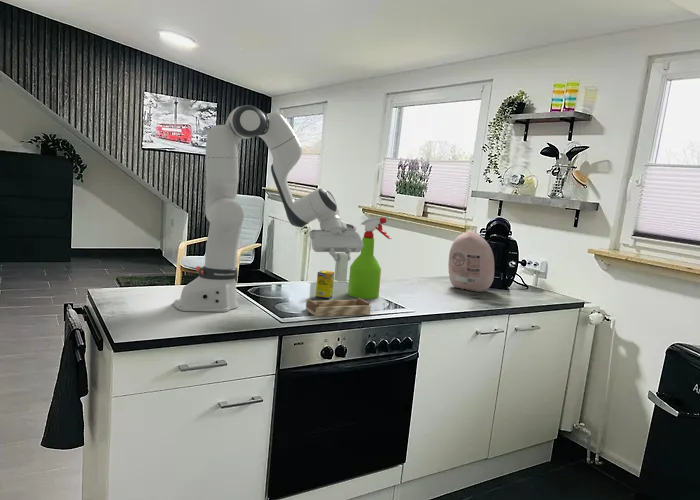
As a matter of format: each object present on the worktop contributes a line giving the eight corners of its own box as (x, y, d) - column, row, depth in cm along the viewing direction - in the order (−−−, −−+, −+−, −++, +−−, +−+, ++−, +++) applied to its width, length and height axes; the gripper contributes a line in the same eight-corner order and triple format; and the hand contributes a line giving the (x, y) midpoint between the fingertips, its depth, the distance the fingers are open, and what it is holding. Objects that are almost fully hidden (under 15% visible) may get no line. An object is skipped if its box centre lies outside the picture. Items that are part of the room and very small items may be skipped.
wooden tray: (316, 316, 185) (317, 305, 185) (305, 309, 194) (306, 298, 193) (369, 314, 196) (370, 303, 195) (357, 307, 204) (358, 297, 204)
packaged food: (495, 291, 266) (502, 233, 262) (483, 296, 249) (491, 234, 245) (454, 284, 277) (461, 228, 273) (440, 288, 260) (447, 229, 257)
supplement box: (329, 299, 214) (331, 273, 212) (315, 297, 215) (317, 271, 213) (332, 297, 219) (334, 271, 218) (318, 295, 221) (320, 269, 219)
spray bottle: (377, 302, 216) (385, 218, 212) (341, 294, 226) (348, 214, 222) (393, 298, 228) (401, 218, 223) (358, 290, 238) (365, 214, 233)
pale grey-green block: (339, 281, 191) (341, 254, 190) (334, 279, 195) (336, 253, 193) (346, 281, 193) (348, 254, 191) (341, 279, 196) (343, 253, 195)
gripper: (311, 224, 192) (320, 254, 185) (359, 226, 202) (369, 255, 195) (305, 234, 197) (314, 264, 189) (352, 236, 206) (362, 264, 199)
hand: (342, 259), depth 192 cm, fingers closed on pale grey-green block, 3 cm apart
